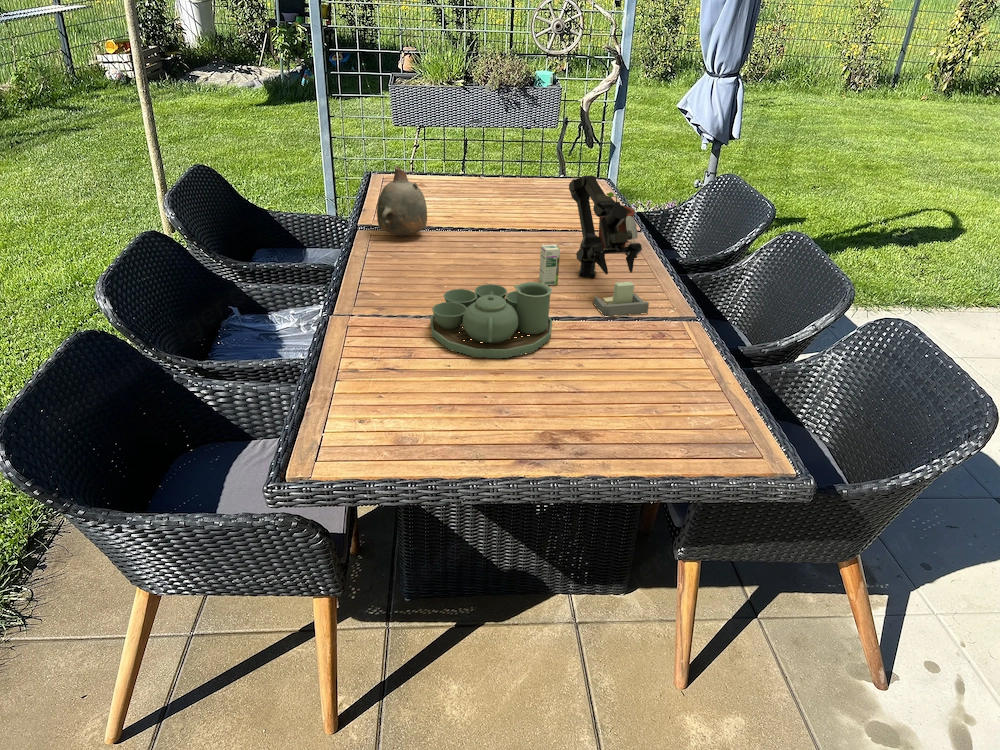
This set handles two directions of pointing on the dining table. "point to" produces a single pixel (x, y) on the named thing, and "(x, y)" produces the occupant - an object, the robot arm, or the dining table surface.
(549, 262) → the syrup box
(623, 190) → the potted plant
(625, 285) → the green block
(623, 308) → the frame
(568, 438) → the dining table surface
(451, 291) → the tea set
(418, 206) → the jug
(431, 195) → the dining table surface
